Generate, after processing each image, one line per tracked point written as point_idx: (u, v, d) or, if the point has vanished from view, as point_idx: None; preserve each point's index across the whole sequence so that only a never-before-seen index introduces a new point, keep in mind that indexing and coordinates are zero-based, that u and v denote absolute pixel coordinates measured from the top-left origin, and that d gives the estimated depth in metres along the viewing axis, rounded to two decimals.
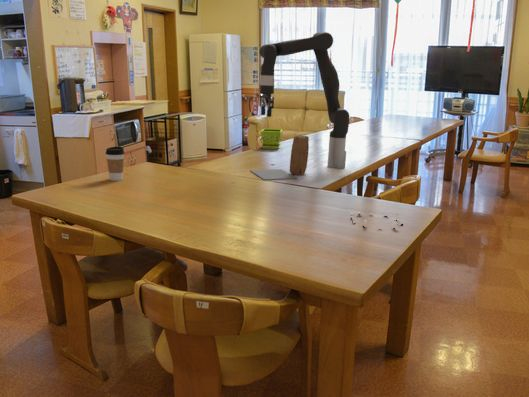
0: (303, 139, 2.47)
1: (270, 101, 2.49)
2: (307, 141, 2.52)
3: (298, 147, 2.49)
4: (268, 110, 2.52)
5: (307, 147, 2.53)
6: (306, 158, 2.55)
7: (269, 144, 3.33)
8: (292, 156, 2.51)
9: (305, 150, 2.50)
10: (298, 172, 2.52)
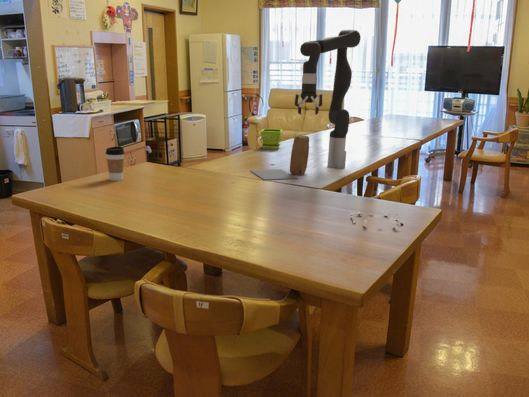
0: (303, 139, 2.47)
1: None
2: (307, 141, 2.51)
3: (298, 147, 2.49)
4: (317, 108, 2.53)
5: (307, 147, 2.53)
6: (306, 158, 2.55)
7: (269, 144, 3.33)
8: (292, 156, 2.51)
9: (305, 150, 2.50)
10: (298, 172, 2.52)
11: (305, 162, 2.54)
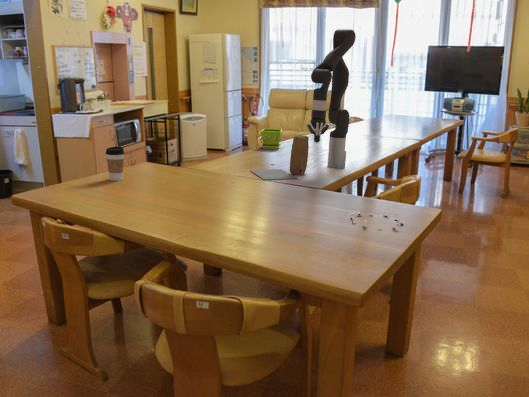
0: (303, 139, 2.48)
1: None
2: (307, 141, 2.52)
3: (298, 147, 2.49)
4: (319, 136, 2.55)
5: (307, 147, 2.53)
6: (306, 158, 2.55)
7: (269, 144, 3.33)
8: (292, 156, 2.51)
9: (305, 150, 2.50)
10: (298, 172, 2.52)
11: (305, 162, 2.54)
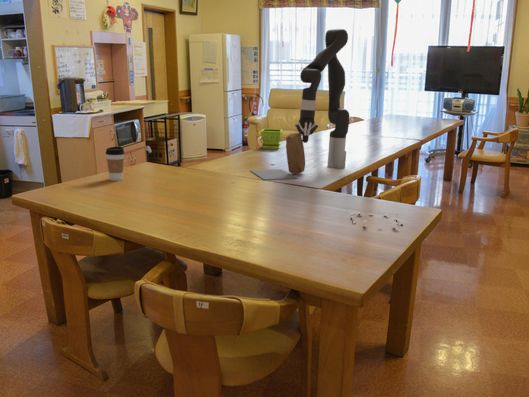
0: (295, 138, 2.46)
1: None
2: (300, 138, 2.50)
3: (292, 146, 2.47)
4: (307, 136, 2.52)
5: (301, 144, 2.51)
6: (303, 155, 2.53)
7: (269, 144, 3.33)
8: (288, 156, 2.50)
9: (299, 148, 2.49)
10: (297, 171, 2.52)
11: (302, 159, 2.53)
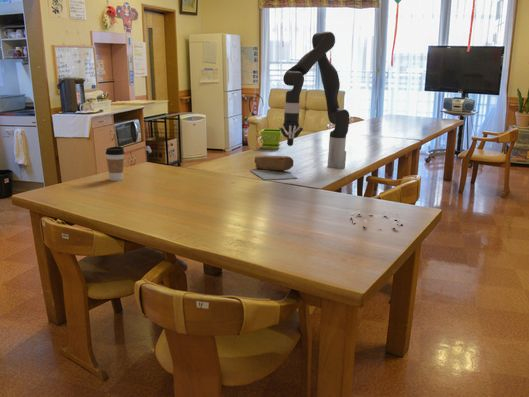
0: (255, 158, 2.65)
1: None
2: None
3: (261, 162, 2.62)
4: (292, 139, 2.50)
5: None
6: None
7: (269, 144, 3.33)
8: (269, 167, 2.60)
9: (265, 156, 2.63)
10: (281, 160, 2.55)
11: None
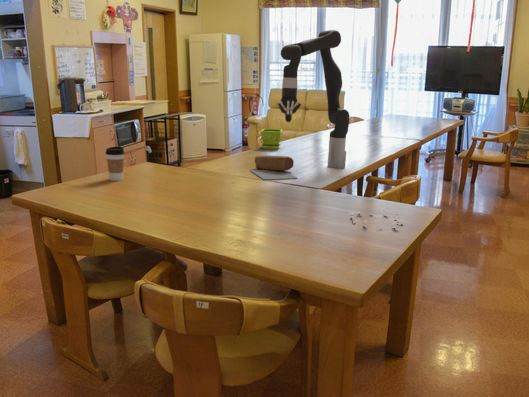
0: (255, 157, 2.65)
1: None
2: None
3: (261, 162, 2.62)
4: (290, 115, 2.47)
5: None
6: None
7: (269, 144, 3.33)
8: (269, 167, 2.60)
9: (265, 156, 2.63)
10: (281, 160, 2.55)
11: (278, 156, 2.61)
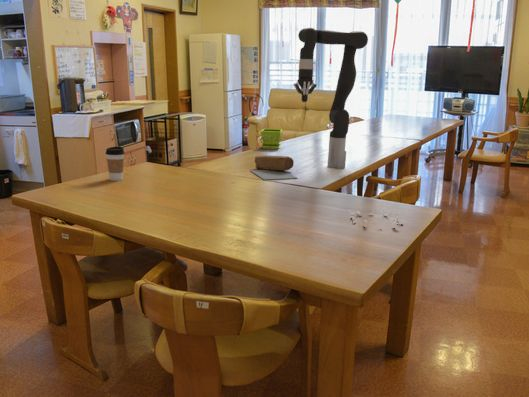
0: (255, 157, 2.65)
1: None
2: None
3: (261, 162, 2.62)
4: (306, 95, 2.58)
5: None
6: None
7: (269, 144, 3.33)
8: (269, 167, 2.60)
9: (265, 156, 2.63)
10: (281, 160, 2.55)
11: (278, 156, 2.61)
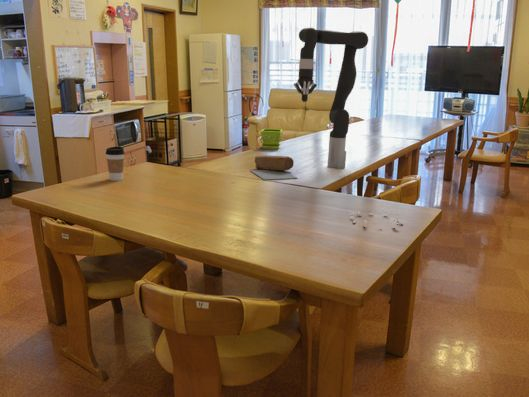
0: (255, 157, 2.65)
1: None
2: None
3: (261, 162, 2.62)
4: (306, 95, 2.58)
5: None
6: None
7: (269, 144, 3.33)
8: (269, 167, 2.60)
9: (265, 156, 2.63)
10: (281, 160, 2.55)
11: (278, 156, 2.61)
